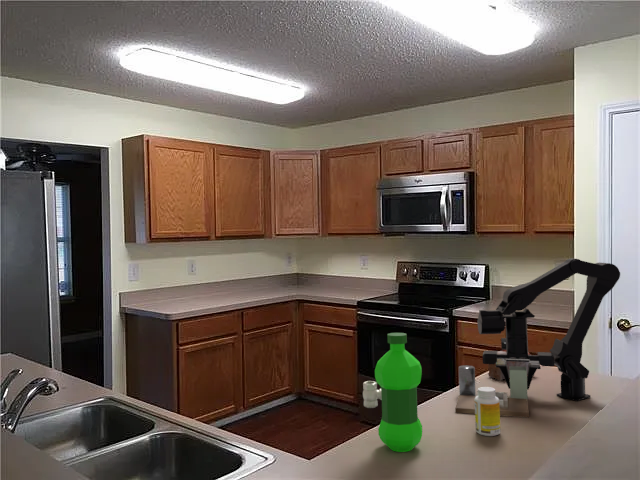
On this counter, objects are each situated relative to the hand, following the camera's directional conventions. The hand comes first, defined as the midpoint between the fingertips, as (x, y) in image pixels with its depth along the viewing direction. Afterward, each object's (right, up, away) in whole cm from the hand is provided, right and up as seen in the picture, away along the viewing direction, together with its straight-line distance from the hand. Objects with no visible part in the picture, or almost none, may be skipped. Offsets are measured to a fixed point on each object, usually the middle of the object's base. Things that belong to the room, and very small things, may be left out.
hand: (518, 388), depth 154 cm
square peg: (0, -2, 0) cm, 2 cm away
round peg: (-13, -3, +5) cm, 14 cm away
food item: (+6, -3, +23) cm, 24 cm away
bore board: (-10, -3, -8) cm, 13 cm away
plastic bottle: (-38, -4, -33) cm, 51 cm away
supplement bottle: (-17, -3, -26) cm, 31 cm away
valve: (-38, -4, -3) cm, 38 cm away
